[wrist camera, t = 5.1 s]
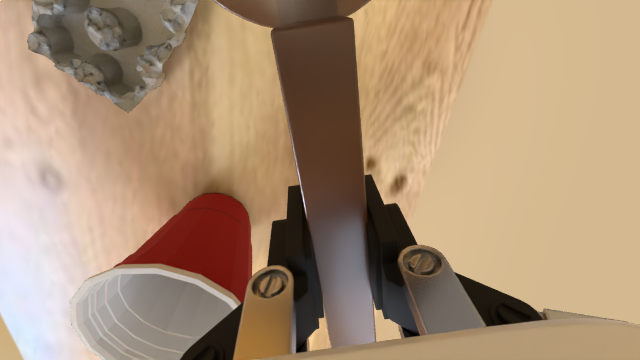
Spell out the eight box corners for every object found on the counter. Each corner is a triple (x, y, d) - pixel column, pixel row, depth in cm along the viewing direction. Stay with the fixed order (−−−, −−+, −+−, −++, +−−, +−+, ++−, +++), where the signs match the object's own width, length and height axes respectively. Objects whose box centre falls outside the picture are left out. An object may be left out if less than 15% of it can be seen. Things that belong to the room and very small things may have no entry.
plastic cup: (145, 158, 25) (31, 266, 15) (280, 172, 26) (264, 282, 16) (159, 258, 30) (82, 392, 20) (271, 267, 31) (254, 397, 21)
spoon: (408, 308, 16) (431, 370, 13) (287, 325, 16) (285, 391, 13) (418, -351, 6) (515, -640, 3) (105, -300, 6) (-49, -543, 3)
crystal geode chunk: (112, -132, 17) (60, -170, 13) (231, -25, 19) (214, -34, 16) (45, 35, 20) (-11, 39, 17) (152, 106, 23) (125, 123, 19)
